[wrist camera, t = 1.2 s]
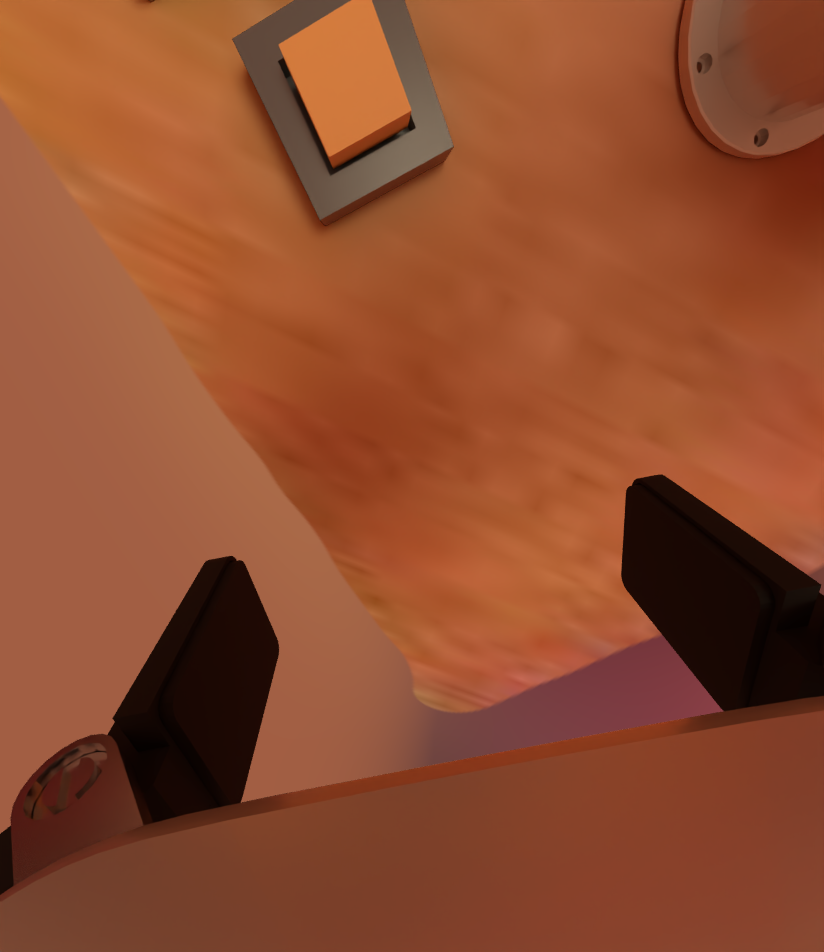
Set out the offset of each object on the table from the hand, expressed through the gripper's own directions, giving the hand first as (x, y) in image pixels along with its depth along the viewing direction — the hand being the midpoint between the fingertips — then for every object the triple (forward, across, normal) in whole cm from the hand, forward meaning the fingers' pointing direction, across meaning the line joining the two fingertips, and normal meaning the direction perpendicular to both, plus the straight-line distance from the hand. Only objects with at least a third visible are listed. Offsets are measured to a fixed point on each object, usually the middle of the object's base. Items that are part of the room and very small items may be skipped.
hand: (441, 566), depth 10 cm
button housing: (+22, 0, -15) cm, 26 cm away
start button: (+19, 0, -15) cm, 24 cm away
